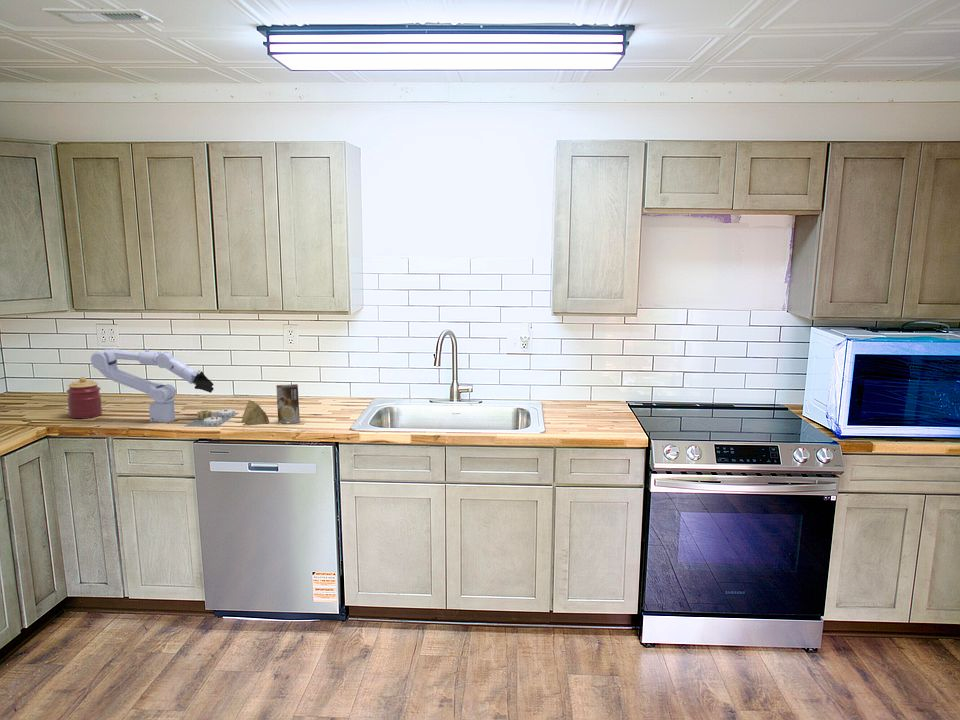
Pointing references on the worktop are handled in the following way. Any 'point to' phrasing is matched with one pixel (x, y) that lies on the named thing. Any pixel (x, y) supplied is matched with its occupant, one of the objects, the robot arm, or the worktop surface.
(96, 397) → the canister
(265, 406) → the worktop surface
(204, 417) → the brass gear
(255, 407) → the rock
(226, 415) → the gear board
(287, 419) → the coffee box
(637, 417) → the worktop surface
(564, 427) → the worktop surface
